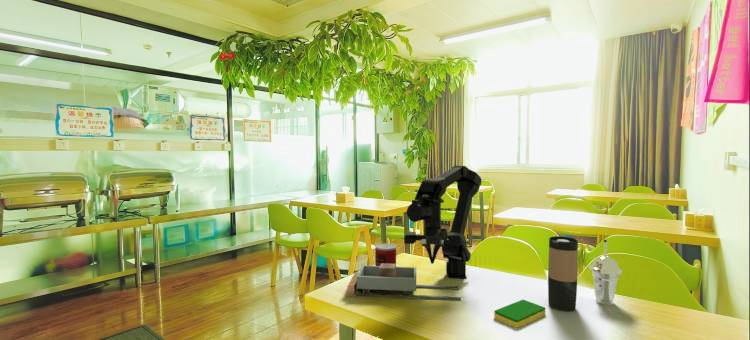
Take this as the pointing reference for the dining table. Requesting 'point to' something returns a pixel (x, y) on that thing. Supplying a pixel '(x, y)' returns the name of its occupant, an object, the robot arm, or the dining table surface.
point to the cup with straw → (605, 277)
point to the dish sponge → (519, 313)
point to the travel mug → (562, 273)
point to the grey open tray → (387, 279)
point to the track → (353, 291)
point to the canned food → (385, 254)
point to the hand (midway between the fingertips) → (432, 263)
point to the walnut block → (387, 270)
